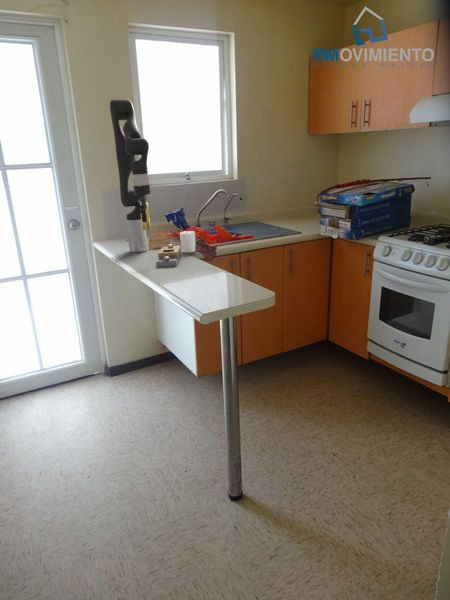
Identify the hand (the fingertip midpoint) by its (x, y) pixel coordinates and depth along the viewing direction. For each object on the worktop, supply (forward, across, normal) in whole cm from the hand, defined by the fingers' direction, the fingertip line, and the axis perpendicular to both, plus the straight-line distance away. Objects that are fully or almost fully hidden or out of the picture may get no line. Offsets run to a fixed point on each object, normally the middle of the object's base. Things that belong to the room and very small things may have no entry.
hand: (145, 221), depth 205 cm
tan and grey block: (+19, +4, +10) cm, 22 cm away
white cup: (+19, -16, +18) cm, 31 cm away
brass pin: (+4, 0, 0) cm, 4 cm away
